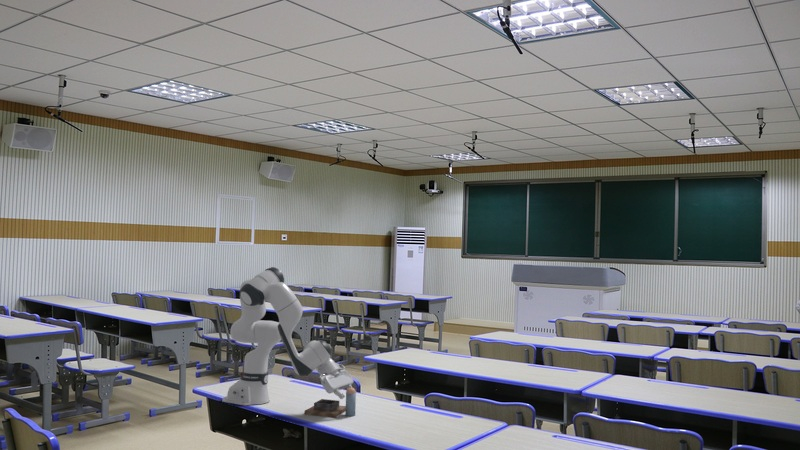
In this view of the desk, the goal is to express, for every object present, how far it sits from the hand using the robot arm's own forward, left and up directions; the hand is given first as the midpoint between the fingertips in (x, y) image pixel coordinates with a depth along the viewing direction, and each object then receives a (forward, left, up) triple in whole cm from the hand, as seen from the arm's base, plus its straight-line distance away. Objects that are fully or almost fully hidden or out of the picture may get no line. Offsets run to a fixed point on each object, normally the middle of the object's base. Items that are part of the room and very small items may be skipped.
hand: (348, 396), depth 278 cm
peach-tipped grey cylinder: (+1, 0, -8) cm, 8 cm away
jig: (-11, +1, -8) cm, 14 cm away
